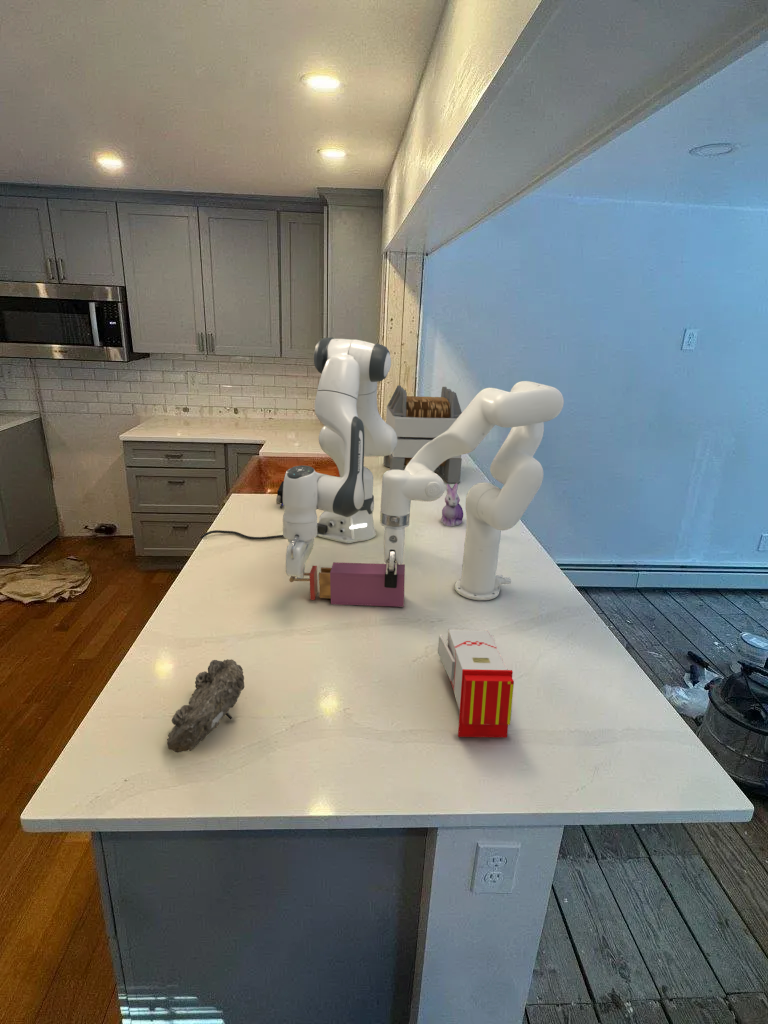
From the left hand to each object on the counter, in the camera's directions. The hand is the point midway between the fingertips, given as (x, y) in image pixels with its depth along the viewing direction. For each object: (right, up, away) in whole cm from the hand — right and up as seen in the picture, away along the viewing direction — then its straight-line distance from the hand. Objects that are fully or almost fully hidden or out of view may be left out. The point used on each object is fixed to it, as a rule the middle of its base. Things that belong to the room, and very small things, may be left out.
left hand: (300, 577), depth 151 cm
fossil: (-10, -22, -43) cm, 49 cm away
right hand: (+24, -1, 0) cm, 24 cm away
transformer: (+40, +36, +124) cm, 135 cm away
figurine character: (-16, +20, +73) cm, 77 cm away
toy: (+40, -20, -33) cm, 56 cm away
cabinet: (+18, -6, +2) cm, 19 cm away
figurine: (+48, +13, +61) cm, 79 cm away
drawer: (+9, -5, +2) cm, 11 cm away
